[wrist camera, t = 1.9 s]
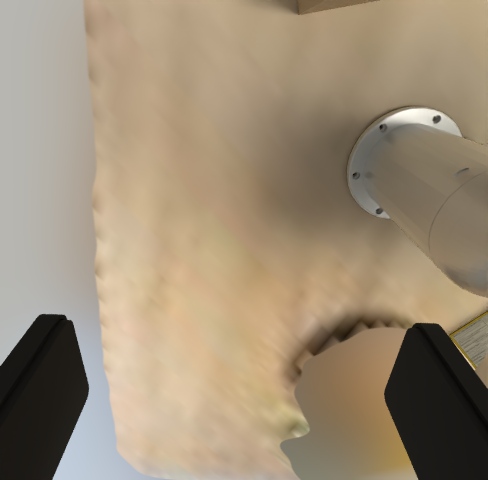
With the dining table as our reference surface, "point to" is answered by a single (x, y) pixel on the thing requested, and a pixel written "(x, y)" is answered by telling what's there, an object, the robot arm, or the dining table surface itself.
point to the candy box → (473, 339)
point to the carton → (325, 4)
